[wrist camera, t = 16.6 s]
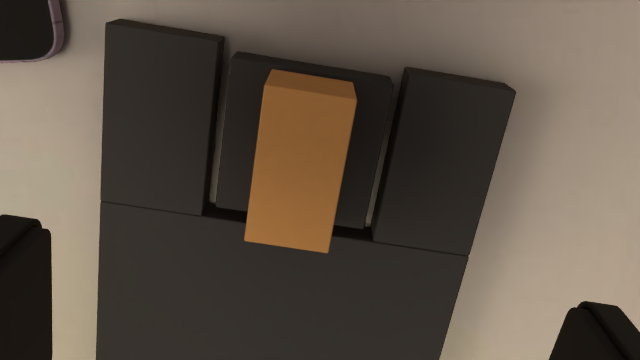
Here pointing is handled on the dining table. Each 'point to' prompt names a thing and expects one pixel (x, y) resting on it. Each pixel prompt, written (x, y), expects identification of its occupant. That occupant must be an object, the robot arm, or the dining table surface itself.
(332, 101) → the pad piece
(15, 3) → the smartphone
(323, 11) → the dining table surface
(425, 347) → the mat
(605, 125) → the dining table surface
